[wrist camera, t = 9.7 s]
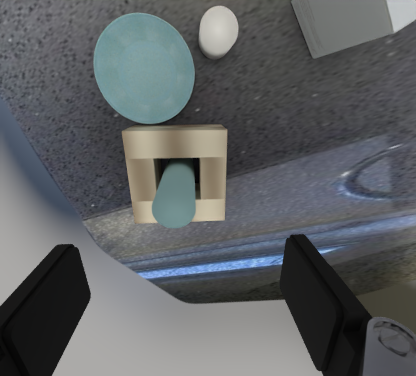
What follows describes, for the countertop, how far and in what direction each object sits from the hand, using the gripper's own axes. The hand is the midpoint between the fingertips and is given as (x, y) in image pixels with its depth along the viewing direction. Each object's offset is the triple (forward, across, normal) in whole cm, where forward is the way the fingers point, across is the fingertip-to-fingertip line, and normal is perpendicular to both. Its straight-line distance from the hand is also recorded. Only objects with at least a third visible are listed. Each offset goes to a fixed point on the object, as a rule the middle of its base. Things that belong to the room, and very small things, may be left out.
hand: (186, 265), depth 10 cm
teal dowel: (+24, +2, +3) cm, 24 cm away
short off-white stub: (+24, -3, -13) cm, 28 cm away
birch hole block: (+24, +2, +3) cm, 24 cm away
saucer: (+25, +5, -10) cm, 27 cm away
